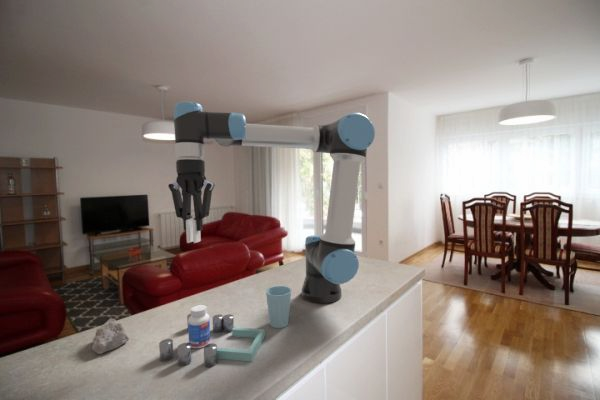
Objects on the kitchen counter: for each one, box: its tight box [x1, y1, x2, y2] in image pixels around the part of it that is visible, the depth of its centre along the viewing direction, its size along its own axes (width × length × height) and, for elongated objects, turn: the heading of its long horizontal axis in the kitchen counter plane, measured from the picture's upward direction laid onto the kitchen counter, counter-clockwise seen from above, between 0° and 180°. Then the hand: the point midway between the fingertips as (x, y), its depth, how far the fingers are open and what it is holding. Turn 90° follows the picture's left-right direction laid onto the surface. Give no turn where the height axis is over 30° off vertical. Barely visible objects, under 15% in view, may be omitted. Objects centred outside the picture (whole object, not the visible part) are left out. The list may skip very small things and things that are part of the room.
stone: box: [91, 317, 130, 355], centre depth 76 cm, size 8×10×6 cm
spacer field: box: [158, 313, 235, 368], centre depth 75 cm, size 16×18×4 cm
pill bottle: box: [187, 304, 211, 349], centre depth 75 cm, size 6×5×10 cm
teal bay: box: [217, 326, 266, 362], centre depth 74 cm, size 9×11×2 cm
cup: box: [265, 285, 292, 329], centre depth 85 cm, size 8×8×10 cm
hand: (193, 241), depth 81 cm, fingers closed
